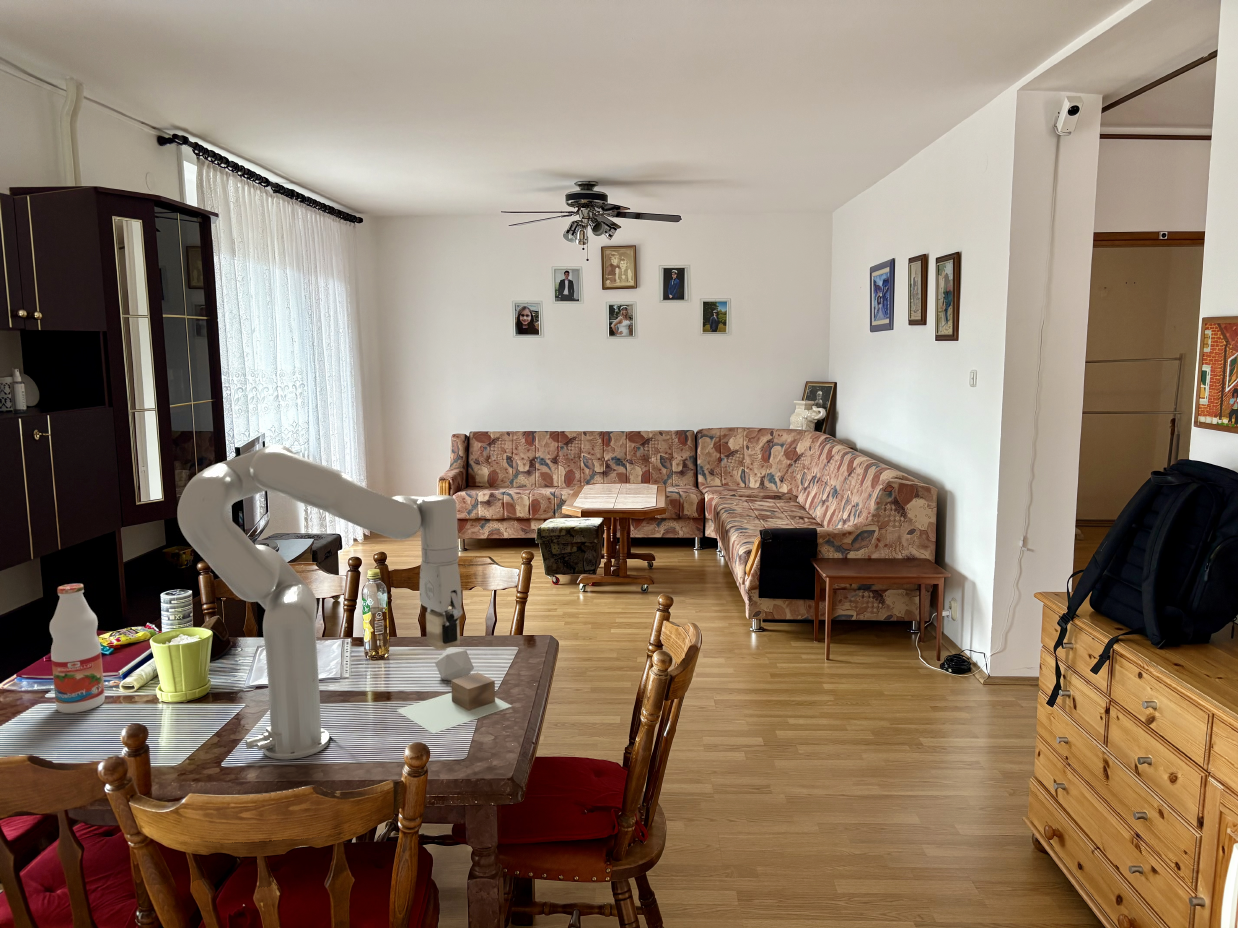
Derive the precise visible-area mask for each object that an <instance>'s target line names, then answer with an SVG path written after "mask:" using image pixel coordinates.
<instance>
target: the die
mask: <svg viewBox="0 0 1238 928" xmlns="http://www.w3.org/2000/svg"><path fill="white" fill-rule="evenodd" d="M434 665H435V667H436V669H437V672H438V675H439V677H440V678H441V679H442V680H445V681H449V682H450V681H451V680H454V679H457V678H460V677H464V676H467V675H470V674H471V673H472V672H473V670H474V669H475V666H474V665H473V662H472V660H471V658H470V656H469V654H468V651H467V649H464V648H463V649H462V648H457V647H450V648H446V649H445V651H444V652H443V653H442V654H441V655H440V656H439V657H438V659H437V660H436V661H435V662H434Z"/></svg>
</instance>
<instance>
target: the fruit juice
mask: <svg viewBox="0 0 1238 928" xmlns="http://www.w3.org/2000/svg"><path fill="white" fill-rule="evenodd" d="M84 589H85V588H84V584H83V583H69V584H63V585H61V586H58V587H57V595H58V596H59V600H58V602H57V606H56V609H55V611H54V614H53V617H52V619H51V620H50V622H49V633H50V635H51V638H52V645H51V647H50V648H51V649H50V655H51V656H50V659H51V666H52V676H53V677H52V679H53V689H54V699H55V700H54V701H55V708H56V709H57V711H58V712H59V713H63V714H77V713H81V712H82V713H83V712H86V711H89V710H93V709H95V708H97V707H99V706H101V705H102V704H103V703H104V702H105V698H106V695H105V683H104V671H103V669H104V668H103V659H102V647H101V641H100V638H99V637H98V635H97V630H98V625H99V624H98V623H99V621H98V617H97V615H96V613H95V612H94V611H93V610H92V609H91V607H90V606H89V604H88V602H87V600H86V598H85V597H84V594H83V593H84V592H85V590H84Z"/></svg>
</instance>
